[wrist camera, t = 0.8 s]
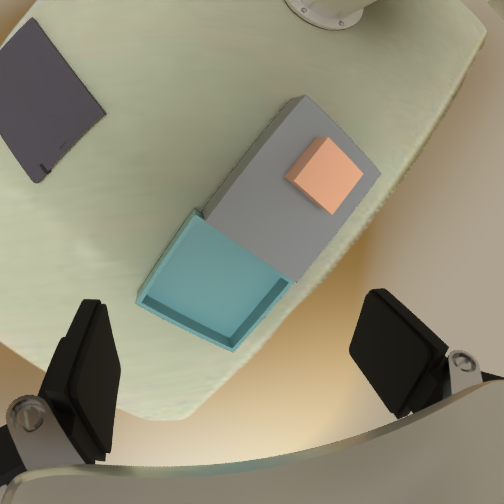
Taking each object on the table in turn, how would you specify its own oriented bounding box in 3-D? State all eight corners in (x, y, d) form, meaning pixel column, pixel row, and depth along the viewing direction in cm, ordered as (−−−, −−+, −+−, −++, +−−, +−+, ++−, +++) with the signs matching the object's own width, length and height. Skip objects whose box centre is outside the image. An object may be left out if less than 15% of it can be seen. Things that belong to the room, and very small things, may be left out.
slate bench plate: (290, 99, 33) (306, 94, 28) (360, 168, 38) (381, 173, 34) (202, 210, 36) (205, 221, 31) (283, 266, 41) (296, 282, 37)
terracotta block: (316, 136, 30) (328, 137, 27) (349, 170, 33) (363, 173, 30) (283, 177, 31) (293, 180, 28) (320, 208, 34) (332, 214, 31)
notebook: (107, 114, 29) (36, 20, 20) (104, 113, 27) (31, 16, 18) (41, 184, 29) (-23, 86, 20) (35, 186, 28) (-28, 85, 19)
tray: (194, 208, 35) (195, 214, 32) (287, 271, 42) (294, 281, 39) (137, 292, 37) (135, 303, 35) (229, 340, 44) (233, 352, 41)
